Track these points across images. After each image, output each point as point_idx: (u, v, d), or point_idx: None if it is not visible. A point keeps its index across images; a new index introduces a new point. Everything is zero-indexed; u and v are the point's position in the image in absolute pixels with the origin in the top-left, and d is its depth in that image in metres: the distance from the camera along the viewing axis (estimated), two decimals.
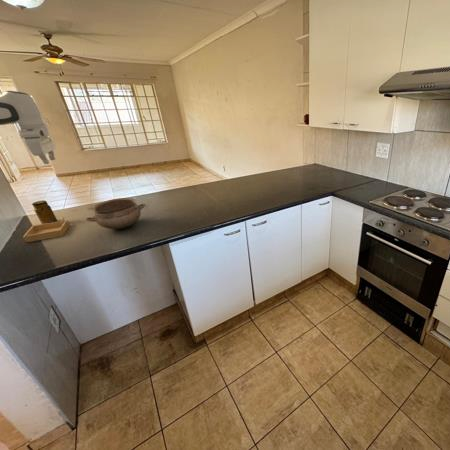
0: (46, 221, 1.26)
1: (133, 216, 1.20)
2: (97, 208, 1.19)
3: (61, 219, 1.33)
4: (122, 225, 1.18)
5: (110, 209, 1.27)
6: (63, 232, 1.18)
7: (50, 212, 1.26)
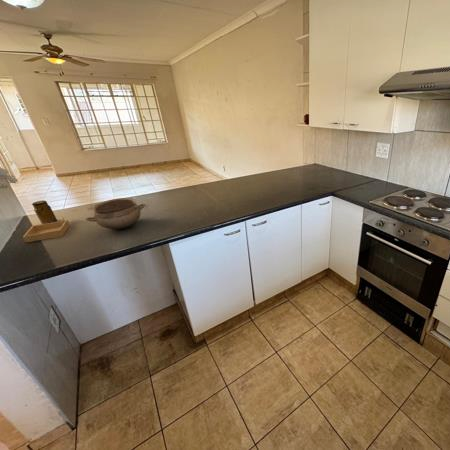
0: (46, 221, 1.26)
1: (133, 216, 1.20)
2: (97, 208, 1.19)
3: (61, 219, 1.33)
4: (122, 225, 1.18)
5: (110, 209, 1.27)
6: (63, 232, 1.18)
7: (50, 212, 1.26)
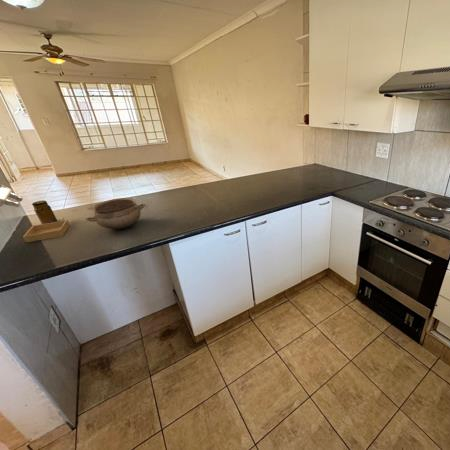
0: (46, 221, 1.26)
1: (133, 216, 1.20)
2: (97, 208, 1.19)
3: (61, 219, 1.33)
4: (122, 225, 1.18)
5: (110, 209, 1.27)
6: (63, 232, 1.18)
7: (50, 212, 1.26)
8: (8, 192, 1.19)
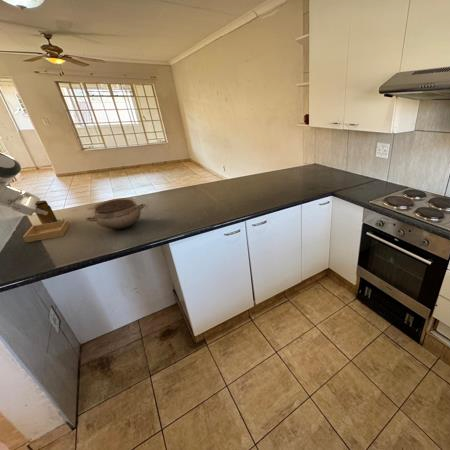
0: (46, 221, 1.26)
1: (133, 216, 1.20)
2: (97, 208, 1.19)
3: (61, 219, 1.33)
4: (122, 225, 1.18)
5: (110, 209, 1.27)
6: (63, 232, 1.18)
7: (50, 212, 1.26)
8: None
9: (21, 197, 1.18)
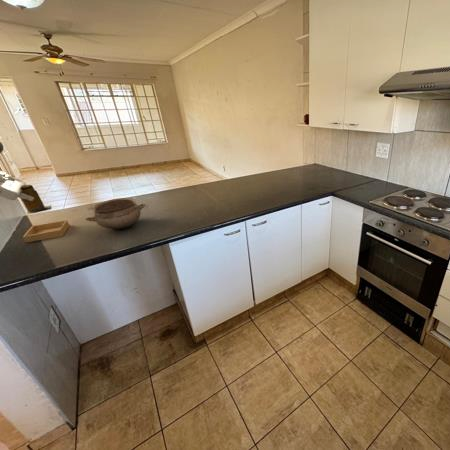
0: (32, 208, 1.14)
1: (133, 216, 1.20)
2: (97, 208, 1.19)
3: (49, 206, 1.21)
4: (122, 225, 1.18)
5: (110, 209, 1.27)
6: (63, 232, 1.18)
7: (37, 198, 1.15)
8: (22, 185, 1.13)
9: (3, 180, 1.06)
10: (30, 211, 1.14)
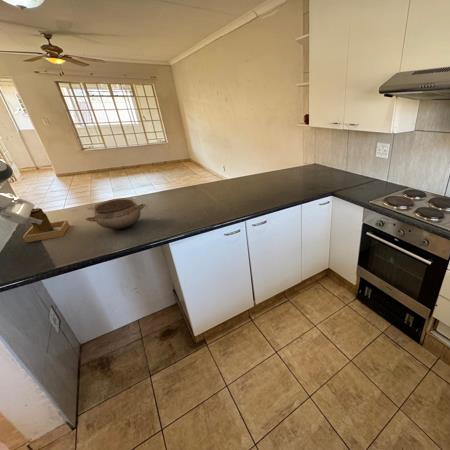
0: (42, 231, 1.15)
1: (133, 216, 1.20)
2: (97, 208, 1.19)
3: (58, 228, 1.22)
4: (122, 225, 1.18)
5: (110, 209, 1.27)
6: (63, 232, 1.18)
7: (46, 221, 1.16)
8: (30, 208, 1.14)
9: (13, 204, 1.07)
10: None
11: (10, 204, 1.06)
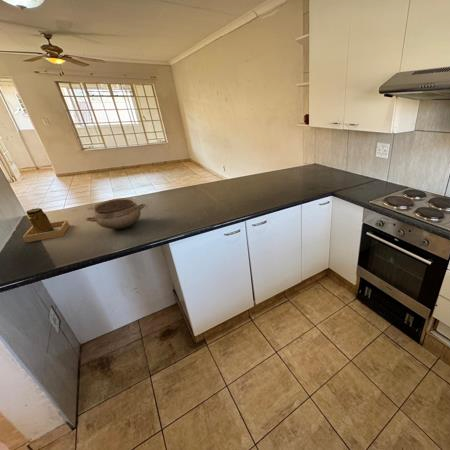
0: (42, 231, 1.15)
1: (133, 216, 1.20)
2: (97, 208, 1.19)
3: (58, 228, 1.22)
4: (122, 225, 1.18)
5: (110, 209, 1.27)
6: (63, 232, 1.18)
7: (46, 221, 1.16)
8: None
9: None
10: None
11: None
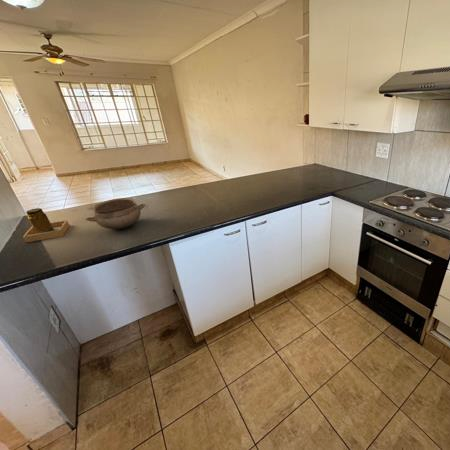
0: (42, 231, 1.15)
1: (133, 216, 1.20)
2: (97, 208, 1.19)
3: (58, 228, 1.22)
4: (122, 225, 1.18)
5: (110, 209, 1.27)
6: (63, 232, 1.18)
7: (46, 221, 1.16)
8: None
9: None
10: None
11: None
